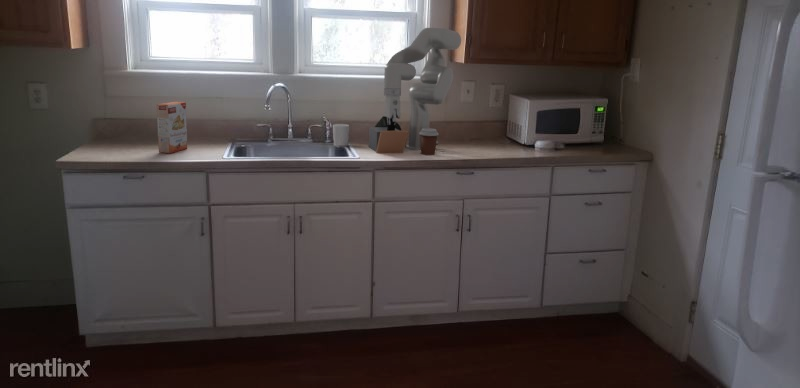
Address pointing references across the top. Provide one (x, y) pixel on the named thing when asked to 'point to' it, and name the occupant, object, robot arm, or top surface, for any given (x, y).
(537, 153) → the top surface
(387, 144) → the side door
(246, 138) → the top surface
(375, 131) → the case
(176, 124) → the cracker box
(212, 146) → the top surface
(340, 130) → the white cup
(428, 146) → the coffee cup
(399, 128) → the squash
